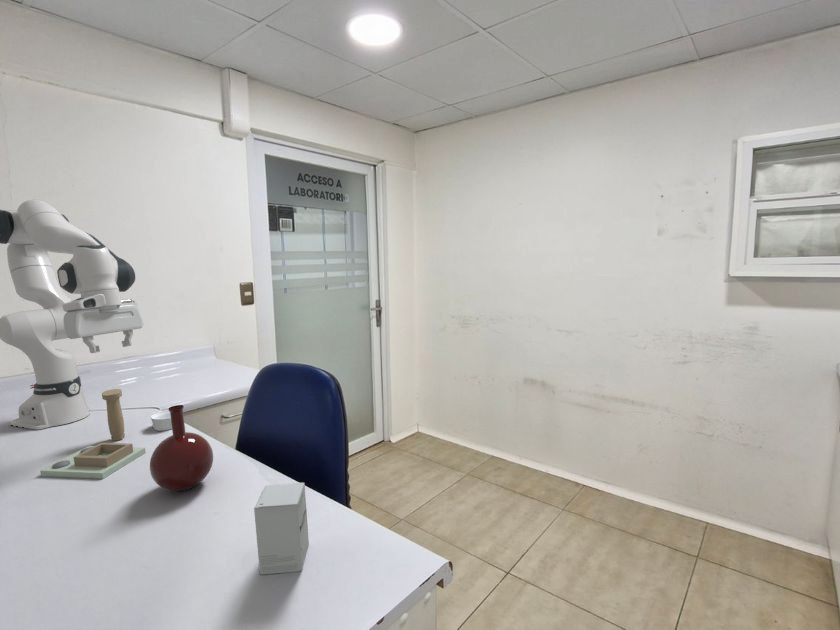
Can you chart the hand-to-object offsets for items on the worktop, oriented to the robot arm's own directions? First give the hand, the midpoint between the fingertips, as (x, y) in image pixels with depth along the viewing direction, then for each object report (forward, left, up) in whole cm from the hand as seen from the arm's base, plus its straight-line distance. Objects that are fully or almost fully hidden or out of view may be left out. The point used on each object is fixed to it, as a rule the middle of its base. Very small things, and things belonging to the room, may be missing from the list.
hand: (111, 349), depth 121 cm
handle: (-6, +4, -29) cm, 30 cm away
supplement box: (+69, -41, -30) cm, 85 cm away
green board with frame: (+1, -11, -29) cm, 31 cm away
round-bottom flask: (+34, -20, -30) cm, 49 cm away
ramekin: (+2, +15, -30) cm, 33 cm away
